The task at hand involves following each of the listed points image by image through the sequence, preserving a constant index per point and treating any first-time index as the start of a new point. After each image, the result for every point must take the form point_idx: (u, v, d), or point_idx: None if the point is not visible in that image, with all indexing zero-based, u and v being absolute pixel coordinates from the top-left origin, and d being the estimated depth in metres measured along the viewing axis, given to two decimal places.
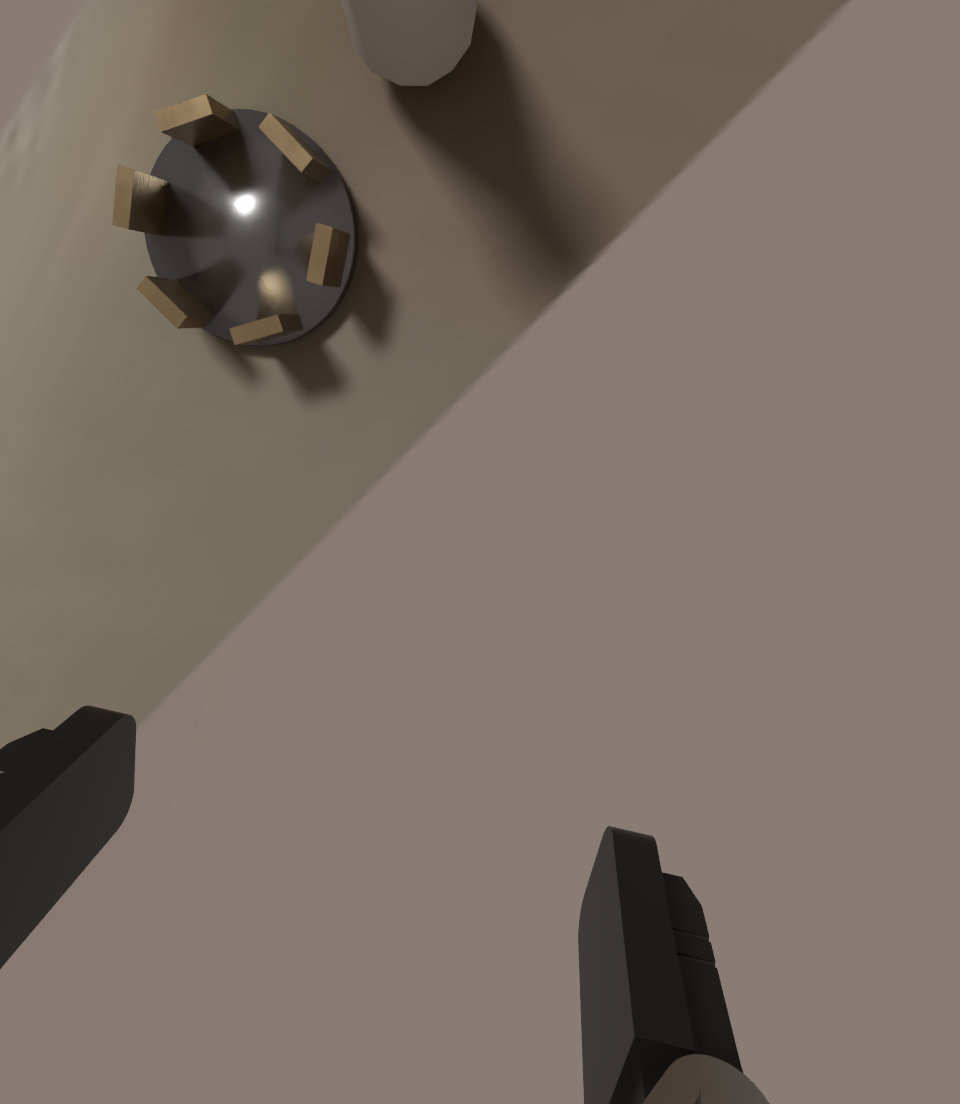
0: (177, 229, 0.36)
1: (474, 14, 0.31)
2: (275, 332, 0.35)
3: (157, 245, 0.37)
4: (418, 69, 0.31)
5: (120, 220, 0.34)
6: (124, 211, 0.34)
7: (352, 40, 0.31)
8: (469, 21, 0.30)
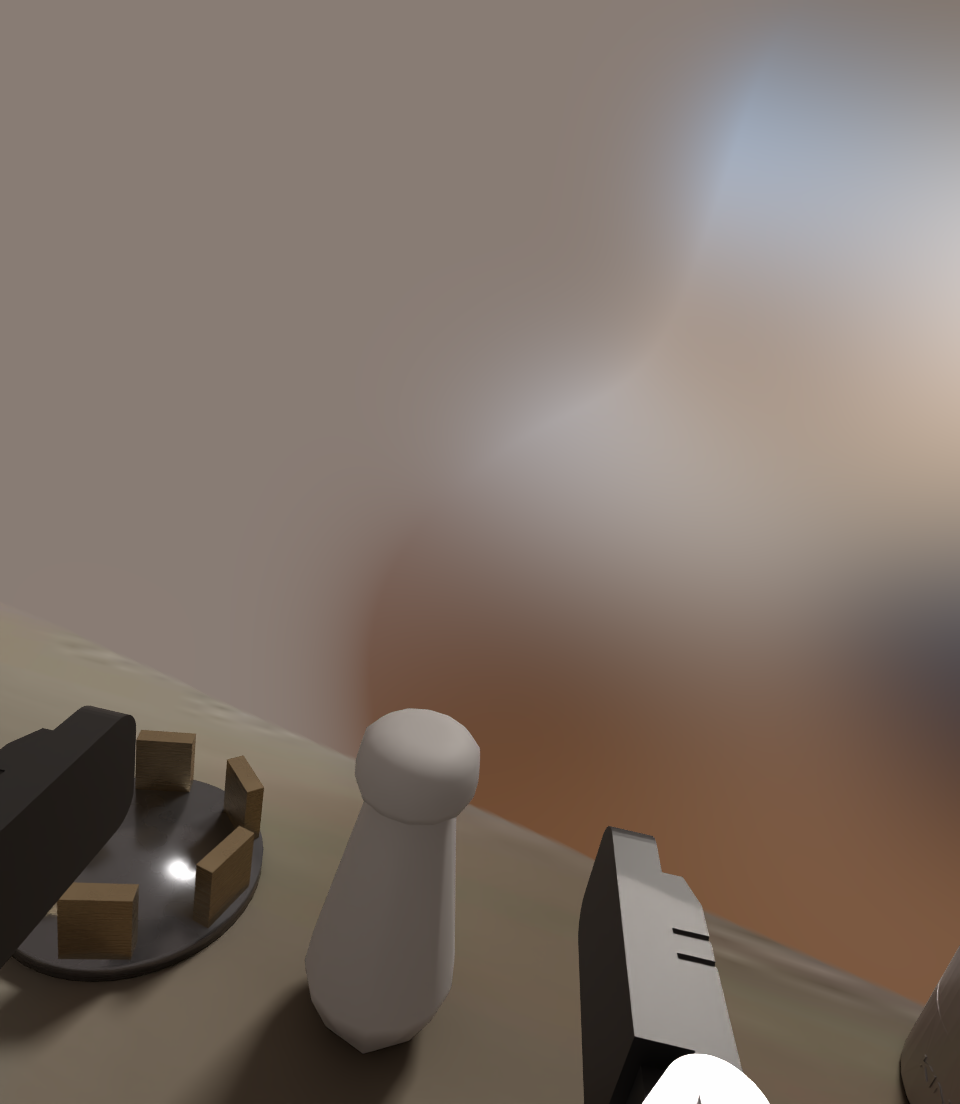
0: (141, 800, 0.35)
1: (394, 1026, 0.25)
2: None
3: None
4: (320, 962, 0.26)
5: (145, 735, 0.35)
6: (153, 737, 0.35)
7: None
8: (383, 1016, 0.25)
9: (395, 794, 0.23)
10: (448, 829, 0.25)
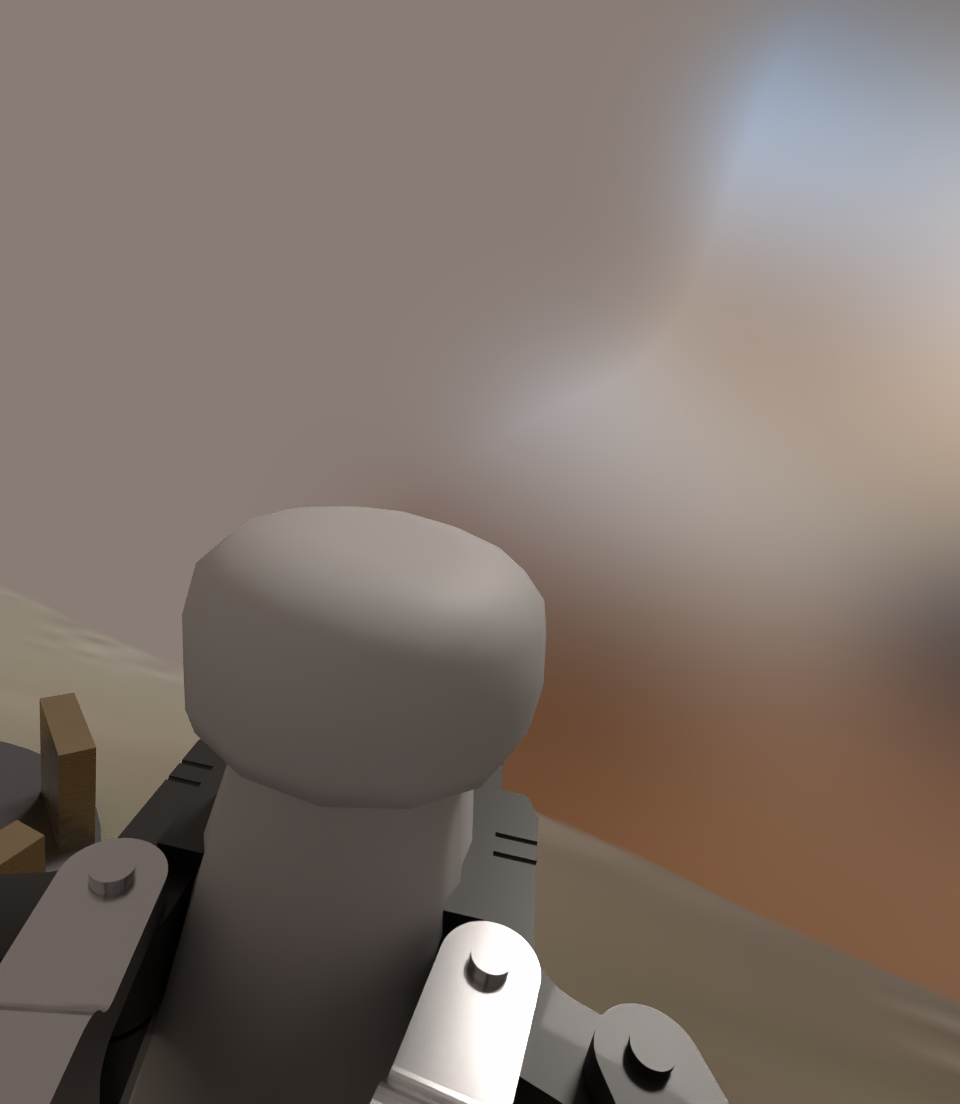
0: None
1: None
2: None
3: None
4: None
5: None
6: None
7: None
8: None
9: (276, 704, 0.07)
10: (454, 826, 0.09)
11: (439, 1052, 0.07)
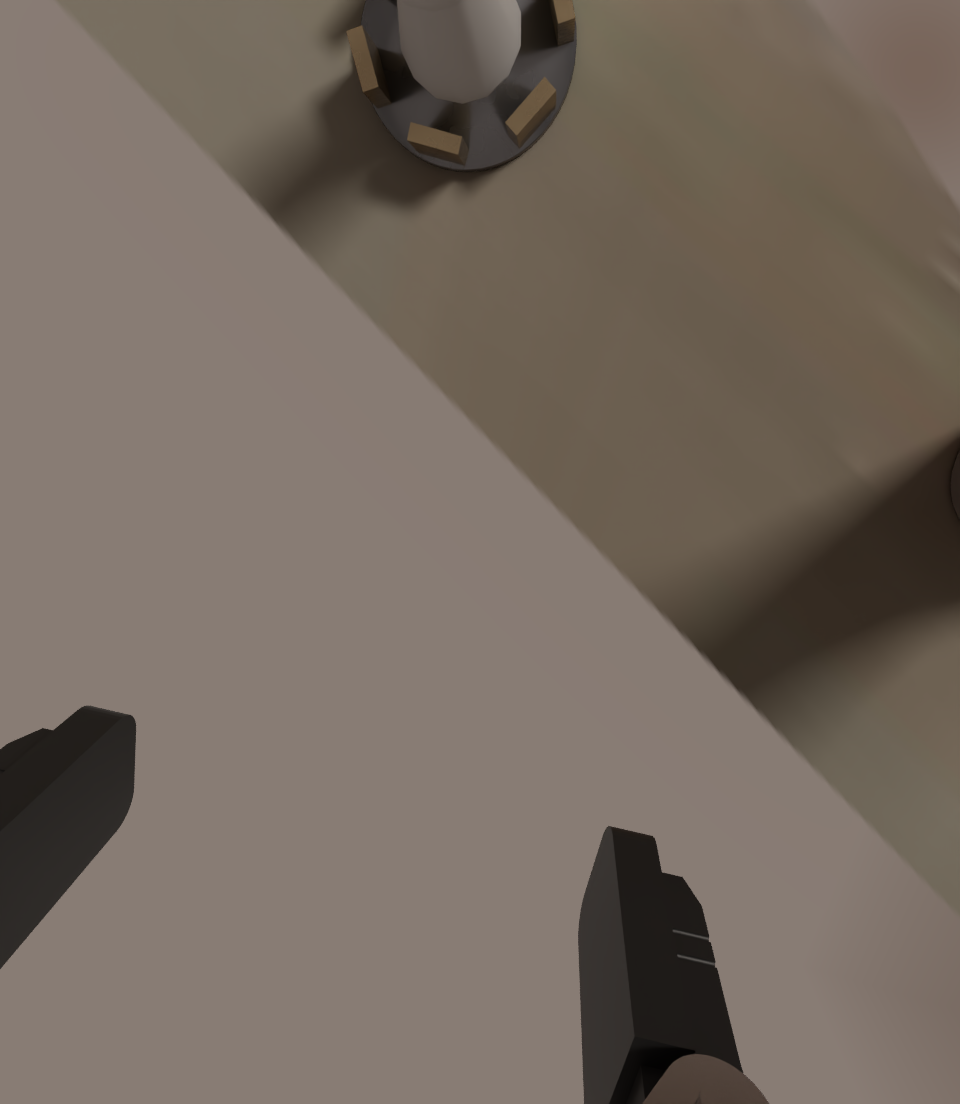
0: None
1: (453, 100, 0.34)
2: (361, 82, 0.34)
3: None
4: (400, 38, 0.33)
5: None
6: None
7: None
8: (444, 93, 0.34)
9: None
10: None
11: None
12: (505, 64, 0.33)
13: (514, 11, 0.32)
